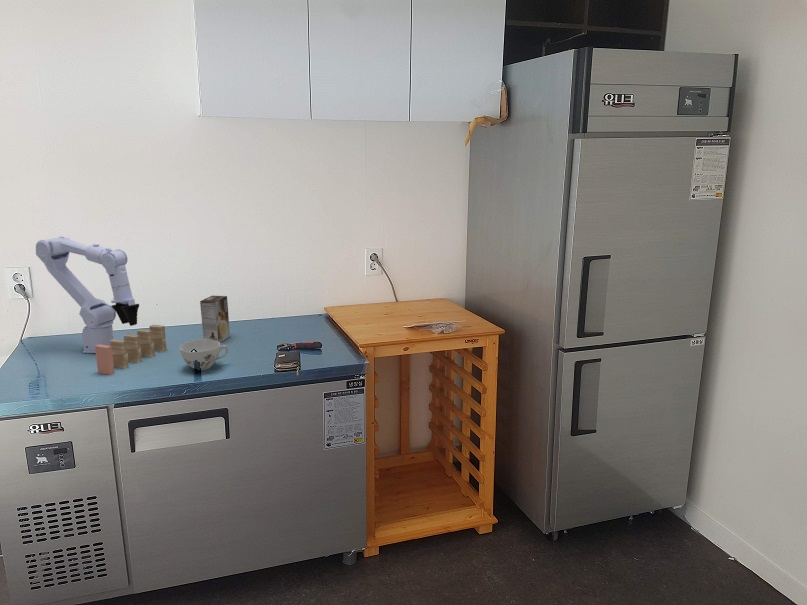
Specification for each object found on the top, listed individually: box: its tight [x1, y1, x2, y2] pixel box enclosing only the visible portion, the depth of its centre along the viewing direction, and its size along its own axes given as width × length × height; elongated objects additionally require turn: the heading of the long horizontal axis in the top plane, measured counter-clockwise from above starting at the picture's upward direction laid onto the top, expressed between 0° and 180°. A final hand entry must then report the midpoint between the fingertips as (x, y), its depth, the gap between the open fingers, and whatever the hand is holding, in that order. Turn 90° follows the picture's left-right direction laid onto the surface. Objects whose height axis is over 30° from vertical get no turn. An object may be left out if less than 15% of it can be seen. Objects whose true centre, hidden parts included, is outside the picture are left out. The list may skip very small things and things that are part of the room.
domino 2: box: [123, 333, 143, 364], centre depth 209 cm, size 2×5×9 cm, turn 69°
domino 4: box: [149, 324, 168, 353], centre depth 219 cm, size 2×5×9 cm, turn 70°
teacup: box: [179, 338, 229, 371], centre depth 203 cm, size 15×12×8 cm
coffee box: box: [199, 295, 231, 344], centre depth 231 cm, size 9×6×16 cm
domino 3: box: [136, 328, 156, 358], centre depth 214 cm, size 2×5×9 cm, turn 70°
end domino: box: [95, 344, 116, 376], centre depth 198 cm, size 2×5×9 cm, turn 69°
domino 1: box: [110, 338, 130, 370], centre depth 203 cm, size 2×5×9 cm, turn 70°
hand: (129, 324), depth 214 cm, fingers open, 7 cm apart
